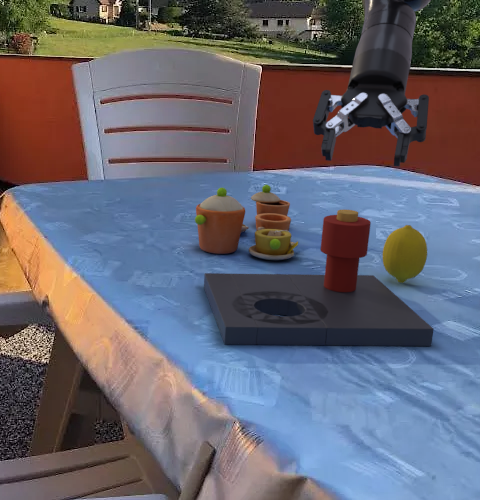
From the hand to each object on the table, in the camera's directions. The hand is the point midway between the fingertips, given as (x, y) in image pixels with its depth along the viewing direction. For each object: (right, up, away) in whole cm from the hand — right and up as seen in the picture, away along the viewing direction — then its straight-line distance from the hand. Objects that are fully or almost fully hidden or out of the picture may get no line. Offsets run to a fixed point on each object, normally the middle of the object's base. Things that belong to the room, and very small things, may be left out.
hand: (362, 159), depth 91 cm
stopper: (-4, -16, -4) cm, 17 cm away
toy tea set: (-11, -10, +24) cm, 28 cm away
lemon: (+7, -16, +4) cm, 18 cm away
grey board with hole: (-9, -19, -8) cm, 23 cm away
